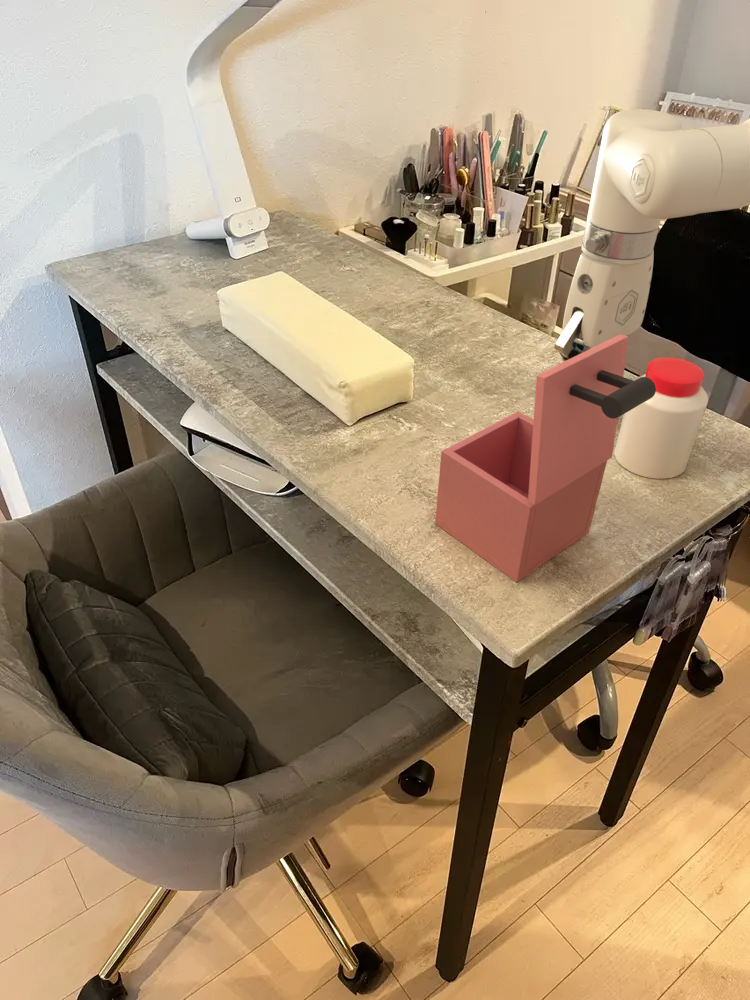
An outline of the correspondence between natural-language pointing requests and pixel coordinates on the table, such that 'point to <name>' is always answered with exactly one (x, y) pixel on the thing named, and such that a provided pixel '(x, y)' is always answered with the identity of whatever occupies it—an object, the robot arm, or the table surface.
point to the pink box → (509, 500)
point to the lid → (580, 415)
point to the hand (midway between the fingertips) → (587, 382)
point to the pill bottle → (664, 421)
